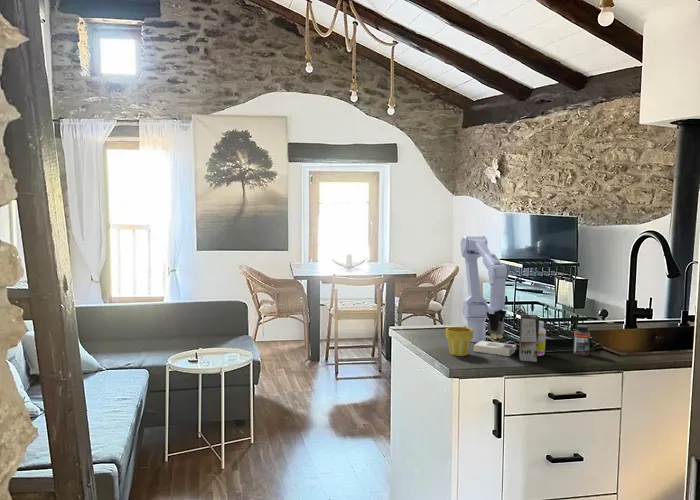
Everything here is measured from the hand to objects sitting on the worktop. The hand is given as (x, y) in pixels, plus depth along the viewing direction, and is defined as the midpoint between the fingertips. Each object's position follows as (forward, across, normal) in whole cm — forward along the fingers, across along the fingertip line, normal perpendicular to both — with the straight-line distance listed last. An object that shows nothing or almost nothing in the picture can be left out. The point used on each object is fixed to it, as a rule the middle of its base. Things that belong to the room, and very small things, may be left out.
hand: (495, 329), depth 261 cm
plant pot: (+9, -13, +10) cm, 19 cm away
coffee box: (+9, -4, -14) cm, 17 cm away
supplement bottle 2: (+9, +15, -30) cm, 35 cm away
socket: (+9, 0, 0) cm, 9 cm away
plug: (+3, 0, 0) cm, 3 cm away
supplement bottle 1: (+9, +5, -15) cm, 18 cm away
